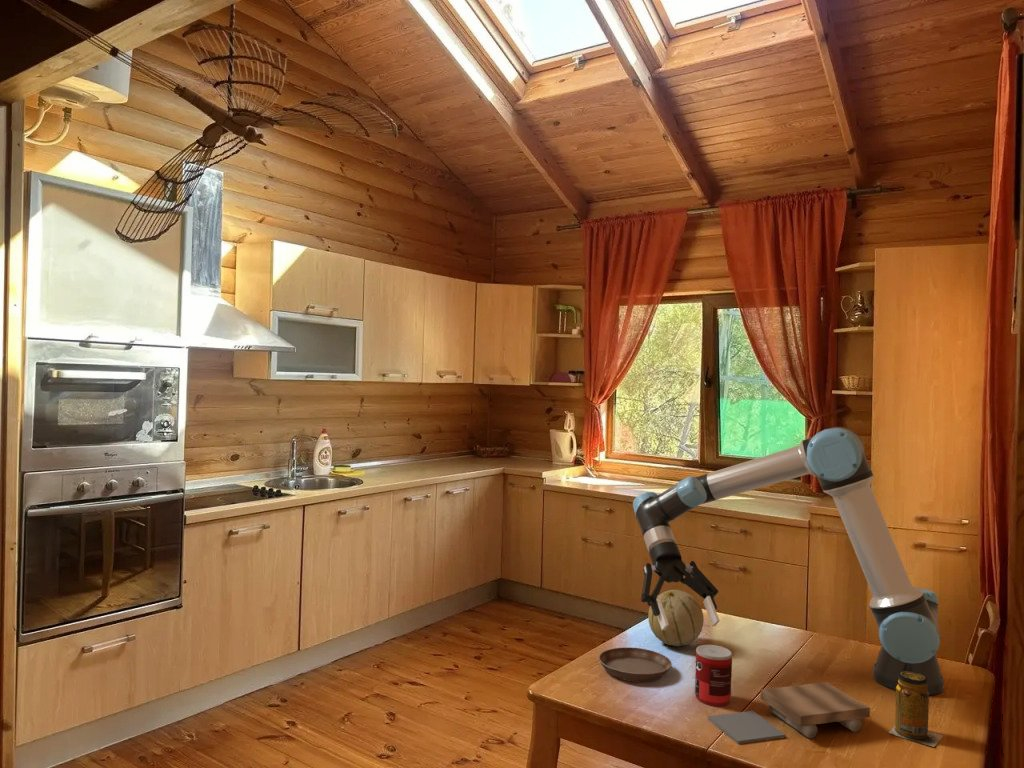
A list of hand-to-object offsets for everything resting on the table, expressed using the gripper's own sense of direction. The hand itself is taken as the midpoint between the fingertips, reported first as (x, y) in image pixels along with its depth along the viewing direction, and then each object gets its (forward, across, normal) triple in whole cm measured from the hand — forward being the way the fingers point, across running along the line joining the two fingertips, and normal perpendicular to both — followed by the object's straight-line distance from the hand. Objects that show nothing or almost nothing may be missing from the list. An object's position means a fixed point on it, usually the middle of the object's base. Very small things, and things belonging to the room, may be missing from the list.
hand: (691, 625), depth 176 cm
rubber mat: (+26, +1, +7) cm, 27 cm away
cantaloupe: (-7, -9, -26) cm, 29 cm away
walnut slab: (+27, -15, +8) cm, 32 cm away
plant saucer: (+3, +10, -16) cm, 19 cm away
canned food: (+16, 0, -3) cm, 17 cm away
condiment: (+34, -32, +15) cm, 49 cm away
